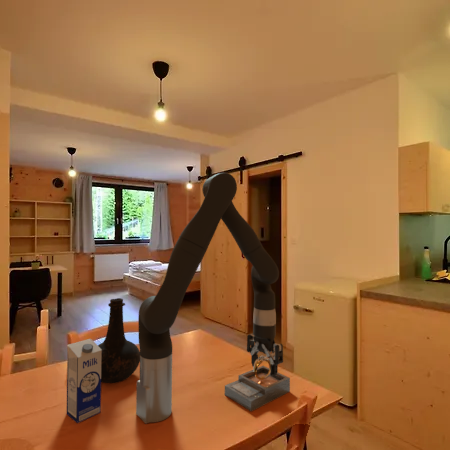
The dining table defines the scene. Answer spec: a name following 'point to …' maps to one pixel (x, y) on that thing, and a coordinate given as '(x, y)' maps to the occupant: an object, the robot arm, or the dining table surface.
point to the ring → (259, 364)
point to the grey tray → (257, 388)
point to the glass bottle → (117, 348)
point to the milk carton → (83, 380)
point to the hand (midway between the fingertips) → (264, 370)
